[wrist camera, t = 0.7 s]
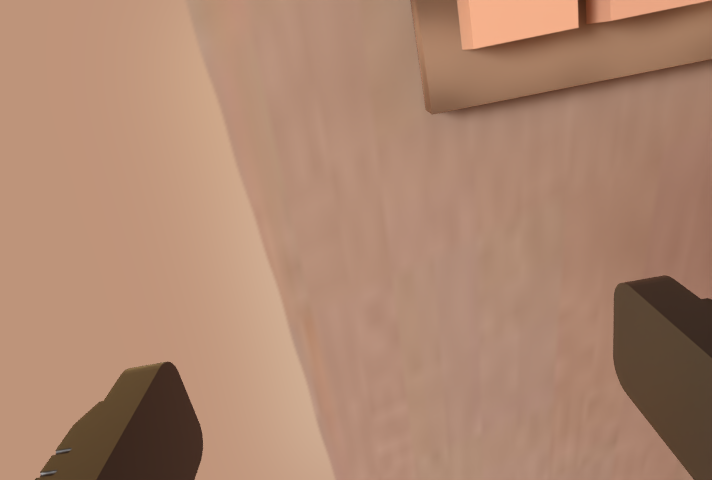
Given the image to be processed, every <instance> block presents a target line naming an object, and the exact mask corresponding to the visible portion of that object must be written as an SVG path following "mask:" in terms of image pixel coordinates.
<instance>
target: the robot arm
mask: <svg viewBox="0 0 712 480" xmlns="http://www.w3.org/2000/svg"><path fill="white" fill-rule="evenodd" d="M613 359H614V365H615V370H616V373H617V376H618V379H619V381H620V383H621V385H622V387H623V389H624V391H625V392H626V394H627V395H628V396H629V398H630V399H631V400H632V401H633V403H634V404H635V405H636V406H637V408H638V409H639V410H640V412H641V413H642V414H643V415H644V417H645V418H646V419H647V420H648V422H649V423H650V424H651V425H652V427H653V428H654V429H655V431H656V432H657V433H658V434H659V436H660V437H661V438H662V439H663V441H664V442H665V443H666V445H667V446H668V447H669V448H670V450H671V451H672V452H673V453H674V455H675V456H676V457H677V459H678V460H679V461H680V462H681V464H682V465H683V466H684V467H685V469H686V470H687V471H688V473H689V474H690V475H691V476H692V478H693V479H694V480H712V300H711V299H709V298H706V299H700V298H699V297H697V296H696V295H695V294H693V293H692V292H691V291H689V290H688V289H686V288H685V287H684V286H682V285H681V284H680V283H678V282H677V281H676V280H674V279H673V278H671V277H669V276H659V277H653V278H647V279H642V280H636V281H630V282H625V283H620V284H618V285H617V287H616V289H615V293H614V339H613ZM202 451H203V438H202V431H201V427H200V424H199V421H198V419H197V416H196V414H195V411H194V409H193V407H192V404H191V402H190V399H189V397H188V394H187V392H186V390H185V387H184V385H183V382H182V380H181V378H180V375H179V372H178V371H177V369H176V367H175V366H174V365H173V364H172V363H171V362H163V363H157V364H152V365H146V366H140V367H134V368H129V369H127V370H125V371H124V372H123V373H122V374H121V376H120V377H119V379H118V380H117V382H116V383H115V385H114V386H113V388H112V389H111V391H110V392H109V394H108V395H107V397H106V398H105V400H104V401H101V402H99V403H98V404H97V405H95V406H94V407H93V408H92V409H91V410H90V411H89V412H88V413H86V414H85V415H84V416H83V417H82V418H81V419H80V420H79V421H78V422H76V423H75V424H74V425H73V427H72V428H71V429H70V431H69V432H68V434H67V435H66V437H65V438H64V439H63V441H62V442H61V444H60V445H59V446H58V448H57V450H56V455H53V456H51V458H50V459H49V461H48V462H47V464H46V465H45V466H44V468H43V469H42V471H41V472H40V473H41V476H40V478H36V479H35V480H194V479H195V476H196V473H197V470H198V467H199V464H200V461H201V457H202Z"/></svg>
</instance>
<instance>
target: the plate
mask: <svg viewBox="0 0 712 480" xmlns="http://www.w3.org/2000/svg"><path fill="white" fill-rule="evenodd" d="M411 7H412V14H413V21H414V29H415V36H416V43H417V50H418V57H419V65H420V72H421V79H422V86H423V93H424V101H425V108H426V110H427V111H428V112H430V113H431V114H437V113H442V112H447V111H452V110H458V109H463V108H468V107H473V106H478V105H483V104H488V103H493V102H498V101H503V100H508V99H513V98H518V97H523V96H528V95H533V94H538V93H543V92H548V91H553V90H558V89H563V88H568V87H573V86H578V85H583V84H588V83H593V82H598V81H603V80H608V79H614V78H619V77H624V76H629V75H634V74H639V73H644V72H649V71H654V70H659V69H664V68H669V67H674V66H679V65H684V64H689V63H694V62H699V61H704V60H709V59H712V0H710V1H706V2H701V3H696V4H691V5H686V6H681V7H676V8H671V9H667V10H662V11H657V12H652V13H647V14H642V15H637V16H633V17H628V18H623V19H618V20H613V21H607V22H599V23H592V24H586V0H578V26H579V28H574V29H569V30H564V31H559V32H555V33H550V34H545V35H540V36H535V37H530V38H525V39H521V40H516V41H511V42H506V43H501V44H496V45H491V46H486V47H482V48H477V49H467V50H462V43H461V34H460V24H459V15H458V6H457V0H411Z"/></svg>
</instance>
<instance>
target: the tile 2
mask: <svg viewBox="0 0 712 480" xmlns="http://www.w3.org/2000/svg"><path fill="white" fill-rule="evenodd" d="M706 1H710V0H586V24H592V23H599V22H607V21H613V20H618V19H623V18H628V17H633V16H637V15H642V14H647V13H652V12H657V11H662V10H667V9H671V8H676V7H681V6H686V5H691V4H696V3H701V2H706Z"/></svg>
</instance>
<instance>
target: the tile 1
mask: <svg viewBox="0 0 712 480" xmlns="http://www.w3.org/2000/svg"><path fill="white" fill-rule="evenodd" d="M457 6H458V15H459V24H460V34H461V43H462V50H467V49H477V48H482V47H486V46H491V45H496V44H501V43H506V42H511V41H516V40H521V39H525V38H530V37H535V36H540V35H545V34H550V33H555V32H559V31H564V30H569V29H574V28H579V26H578V0H457Z"/></svg>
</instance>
